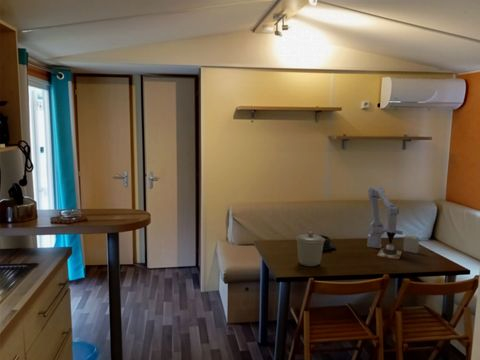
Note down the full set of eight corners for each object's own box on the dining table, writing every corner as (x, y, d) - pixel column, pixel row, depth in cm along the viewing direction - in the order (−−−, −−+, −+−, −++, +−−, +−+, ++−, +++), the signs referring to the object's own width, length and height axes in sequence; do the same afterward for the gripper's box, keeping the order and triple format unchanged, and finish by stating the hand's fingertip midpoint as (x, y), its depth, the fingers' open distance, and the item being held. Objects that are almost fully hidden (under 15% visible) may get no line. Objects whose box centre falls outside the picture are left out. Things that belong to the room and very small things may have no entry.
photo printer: (402, 250, 298) (403, 233, 296) (405, 249, 301) (406, 232, 299) (415, 253, 290) (417, 236, 288) (418, 252, 293) (420, 235, 291)
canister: (317, 259, 273) (319, 227, 270) (328, 268, 255) (329, 234, 253) (291, 259, 270) (292, 228, 267) (300, 269, 252) (301, 235, 249)
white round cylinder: (385, 253, 286) (386, 245, 286) (386, 251, 291) (387, 244, 290) (393, 254, 284) (393, 246, 283) (394, 252, 288) (394, 245, 288)
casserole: (307, 253, 286) (307, 241, 284) (297, 245, 304) (297, 234, 302) (340, 251, 291) (341, 240, 290) (328, 244, 309) (329, 233, 308)
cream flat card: (377, 256, 283) (377, 250, 282) (381, 249, 299) (381, 244, 298) (398, 259, 276) (399, 253, 276) (401, 252, 292) (402, 247, 292)
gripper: (379, 223, 285) (378, 243, 286) (402, 226, 278) (401, 246, 280) (381, 221, 291) (380, 240, 293) (403, 224, 284) (402, 243, 286)
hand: (390, 243), depth 287 cm, fingers closed
